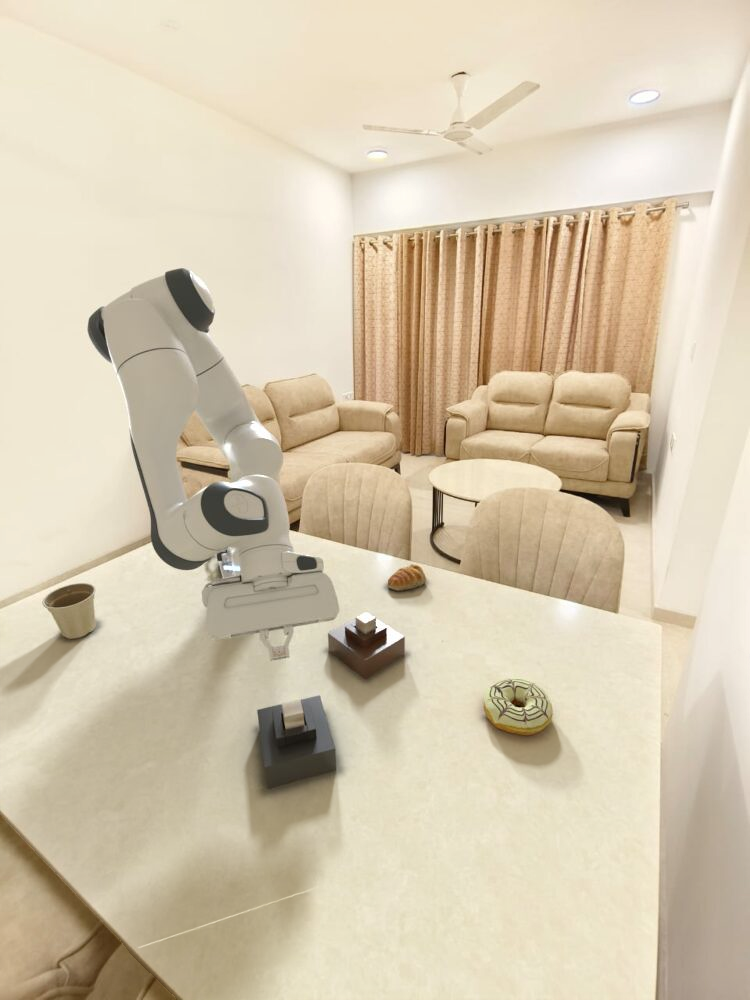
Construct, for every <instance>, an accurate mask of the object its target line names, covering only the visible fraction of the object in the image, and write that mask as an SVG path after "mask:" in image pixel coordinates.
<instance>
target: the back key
mask: <svg viewBox="0 0 750 1000" xmlns="http://www.w3.org/2000/svg"><path fill="white" fill-rule="evenodd" d="M354 619H355V621H356V629H358V630H359V631H361V632H362V633H363V634H367V633H369V632H371V631H372V630H374V629H376V619H377V617H375V616H374V615H372V614H371V613H369V612H368V611H365V612H363V613H361V614H358V615H357V616H355V617H354Z"/></svg>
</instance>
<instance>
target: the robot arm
mask: <svg viewBox="0 0 750 1000" xmlns="http://www.w3.org/2000/svg"><path fill="white" fill-rule="evenodd" d="M215 315H216V310H215V306H214V301H213V298H212V294H211V292H210V291H209V289H208V287H207V285H205V283H204V282H203V281H202V280H201V279H200V278H199V277H198V276H197V275H196V274H195V273H194V272H193V271H191V270H189V269H187V268H184V267H180V268H175V269H170V270H167V271H165V273H164V274H162V275H159V276H156V277H154V278H151V279H149V280H146V281H144V282H142V283H140V284H137V285H135V286H133V287H131V289H130V290H129V291H127V292H124V293H123V294H122V295H120V296H118V297H117V298H115V299H114V300H112V301H110V302H109V303H108V304H107V305H105V306H100V307H99V308H97V309H96V310H95V311H94V312H93V313H92V314H91V315H90V316H89V317H88V322H87V335H88V338H89V339H90V342H91V343H92V345H93V347H94V348H95V349H96V350H97V352H98V353H99V354H100V355H101V357H102V358H103V359H104V360H106V361H107V362H108V363H110V364H112V365H113V369H114V371H115V373H116V377H117V379H118V382H119V384H120V387H121V390H122V393H123V396H124V397H123V398H124V401H125V405H126V411H127V416H128V423H129V439H130V445H131V448H132V454H133V459H134V461H135V465H136V468H137V472H138V476H139V479H140V482H141V486H142V490H143V493H144V496H145V500H146V503H147V507H148V512H149V516H150V541H151V545H152V548H153V550H154V553H156V555H157V556H158V558H160V560H162V561H163V562H164V563H165V564H166V565H167V566H170V567H171V568H174V569H175V570H176V569H177V570H180V571H194V570H196V569H198V568H200V567H202V566H203V565H204V564H206V562H208V561H210V560H211V559H212V558H213V557H214V556H216V560H217V562H218V565H219V566H218V567H219V569H220V573H221V574H220V575H221V578H214V579H211V580H210V582H208V583H206V584H205V585H204V586H203V588H202V589H201V599H202V605H203V606H204V607H205V608H206V613H205V614H206V615H205V627H206V628H205V630H206V635H207V636H208V637H209V638H210V639H211V640H212V641H219V640H220V641H221V640H226V639H231V638H237V637H243V636H248V635H254V634H259V641H260V642H261V643H262V645H263V646H264V647H265V649H266V650H268V657H269V662H275V661H280V660H284V659H290V649H289V645H290V643H291V641H292V638H293V636H294V628H295V627H302V626H306V625H307V626H309V625H313V624H314V625H315V624H319V623H325V622H331V621H334V620H335V619H336V618H337V617H338V616H339V614H340V605H339V600H338V596H337V592H336V589H335V585H334V584H333V581H332V579H331V578H330V576H329V575H328V574H327V573H326V572H324V571H325V563H324V559H323V558H322V557H320V556H315V555H309V554H303V553H297V552H295V551H294V546H293V544H292V542H291V539H290V529H291V525H290V518H289V512H288V506H287V503H286V502H287V501H286V499H285V496H284V493H283V491H282V488H281V486H280V482H281V474H282V473H281V471H282V468H283V464H284V454H283V450H282V447H281V444H280V442H279V441H278V439H277V437H276V436H275V435H273V434H272V433H271V432H270V431H269V430H268V429H266V428H265V426H264V425H263V424H262V423H261V421H260V420H259V418H258V417H257V414H256V413H255V411H254V409H253V407H252V406H251V403H250V401H249V399H248V397H247V395H246V392H245V390H244V388H243V387H242V385H241V383H240V381H239V380H238V378H237V377H236V375H235V373H234V372H233V369H232V368H231V367H230V365H229V363H228V361H227V359H226V358H225V357H224V355H223V353H222V352H221V350H220V348H219V347H218V345H217V344H216V342H215V341H214V339H213V338H212V337H211V335H210V334H209V332H210V326H211V325H212V323H213V321H214V318H215ZM193 413H195V414H196V416H197V417H198V419H199V420H200V422H201V423H202V425H203V427H204V429H206V431H207V432H208V434H209V435H210V437H211V439H212V440H213V442H214V443H215V444H216V446H217V448H218V449H219V450H220V452H221V453H222V455H223V456H224V458H225V459H226V461H227V463H228V466H229V473H230V482H228V481H216V482H212V483H211V484H209V485H207V486H205V487H203V488H202V489H200V490H199V491H197V492H196V493H195V494H193V495H192V496H190V497H189V498H188V495H187V492H186V490H185V486H184V482H183V478H182V476H181V471H180V468H179V464H178V459H177V453H178V445H179V443H180V442H179V441H180V439H181V436H182V435H183V432H184V430H185V427H186V426H187V424H188V422H189V421H190V418H191V416H192V415H193ZM278 630H283V635H284V636H286V638H285V641H284V644H283V645H280V646H273V645H272V644H271V642H270V641H269V640H268V639H270V632H272V631H273V632H274V631H278Z"/></svg>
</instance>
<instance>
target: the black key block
mask: <svg viewBox="0 0 750 1000" xmlns="http://www.w3.org/2000/svg"><path fill="white" fill-rule="evenodd" d="M300 700H301V704H302V708H303V713H304V724H305V725H304V726H300V727H296V728H292V729H288V730H285V725H284V719H283V712H282V704H283V703H280V704H275V705H272V706H267V707H264V708H259V709H256V713H257V721H258V728H259V736H260V744H261V752H262V760H263V769H264V778H265V784H266V789H267V790H269V789H273V788H276V787H280V786H283V785H288V784H292V783H295V782H298V781H302V780H305V779H306V780H307V779H309V778H312V777H317V776H321V775H323V774H328V773H331V772H335V771H337V756H336V754H337V752H336V746H335V743H334V739H333V736H332V732H331V729H330V725H329V722H328V718H327V715H326V712H325V711H326V710H325V708H324V705H323V701H322V697H321V695H315V696H311V697H306V698H301V699H300Z"/></svg>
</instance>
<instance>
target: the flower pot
mask: <svg viewBox="0 0 750 1000" xmlns="http://www.w3.org/2000/svg"><path fill="white" fill-rule="evenodd" d="M95 594H96V587H95V585H94V584H91V583H88V582H77V583H71V584H66V585H64V586H61V587H58V588H56V589H54V590H52V591H50V592H49V593H48V594H46V596H44V597H43V599H42V606H43V607H44V608H45V609H47V611H48V612H49V613H50V614H51V616H52V618H53V619H54V621H55V623H56V626H57V627H58V630H59V632H60V633H61V635H62V637H65V638H66V639H69V640H71V639H79V638H83V637H85V636H86V635H87V634H89V633H91V632H93V631H94V630H95V628H96V626H97V623H96V622H97V621H96V612H95V602H94V601H95V600H94V599H95Z"/></svg>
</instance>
